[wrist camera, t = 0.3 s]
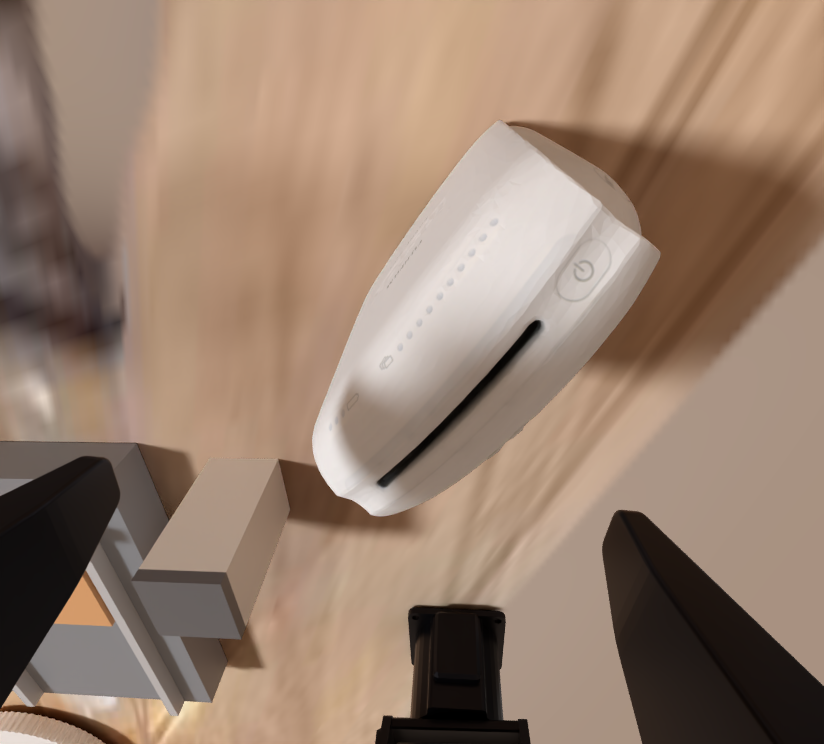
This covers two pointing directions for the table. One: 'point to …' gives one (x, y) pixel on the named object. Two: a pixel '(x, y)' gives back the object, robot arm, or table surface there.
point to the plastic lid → (40, 730)
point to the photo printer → (479, 319)
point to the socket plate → (114, 597)
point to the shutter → (85, 606)
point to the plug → (215, 550)
